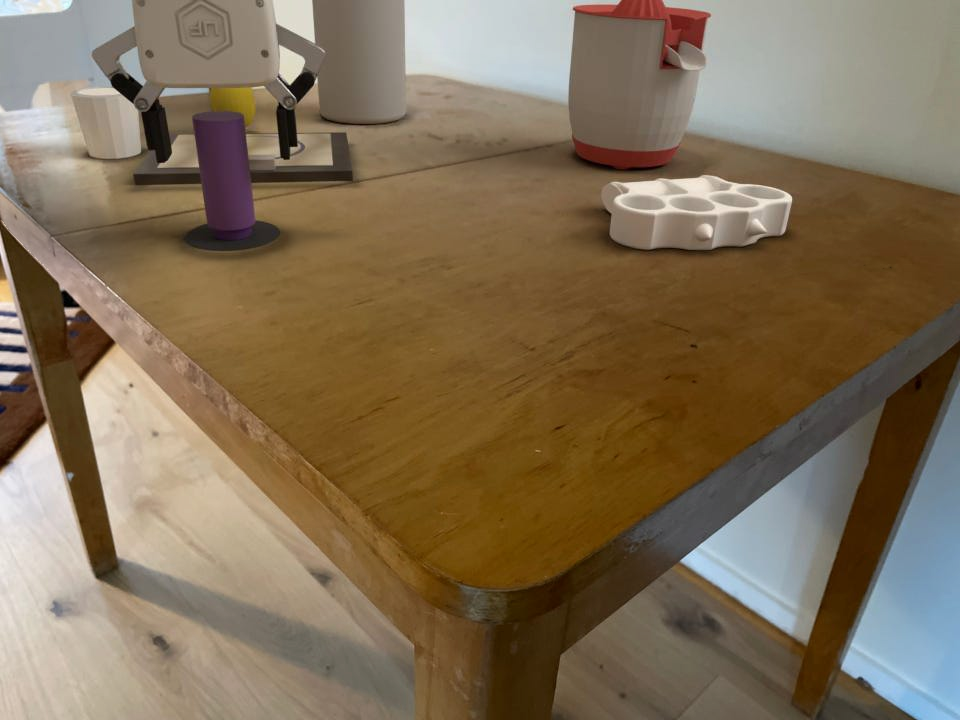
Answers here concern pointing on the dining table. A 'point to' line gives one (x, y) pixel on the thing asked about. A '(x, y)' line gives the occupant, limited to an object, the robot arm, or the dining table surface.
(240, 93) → the lemon
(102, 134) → the white cup
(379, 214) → the dining table surface
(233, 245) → the coaster
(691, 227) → the knuckle duster
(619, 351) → the dining table surface
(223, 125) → the cylinder
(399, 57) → the cylinder vase
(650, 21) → the citrus juicer
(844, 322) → the dining table surface
